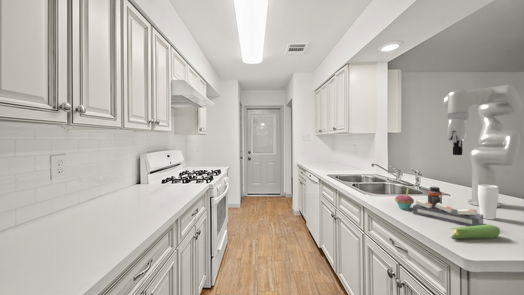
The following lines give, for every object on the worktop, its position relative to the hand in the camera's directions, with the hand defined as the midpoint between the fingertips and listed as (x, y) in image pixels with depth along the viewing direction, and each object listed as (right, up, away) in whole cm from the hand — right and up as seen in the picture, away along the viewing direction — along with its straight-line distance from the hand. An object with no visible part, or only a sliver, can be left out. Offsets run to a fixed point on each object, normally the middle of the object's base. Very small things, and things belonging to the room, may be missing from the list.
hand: (457, 154), depth 109 cm
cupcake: (-18, -29, +12) cm, 37 cm away
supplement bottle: (-3, -29, +11) cm, 31 cm away
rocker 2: (-11, -24, -5) cm, 27 cm away
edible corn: (-15, -31, -24) cm, 42 cm away
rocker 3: (-6, -24, -12) cm, 28 cm away
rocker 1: (-15, -24, +1) cm, 29 cm away
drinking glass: (+10, -29, -5) cm, 31 cm away
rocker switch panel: (-9, -30, -4) cm, 31 cm away
